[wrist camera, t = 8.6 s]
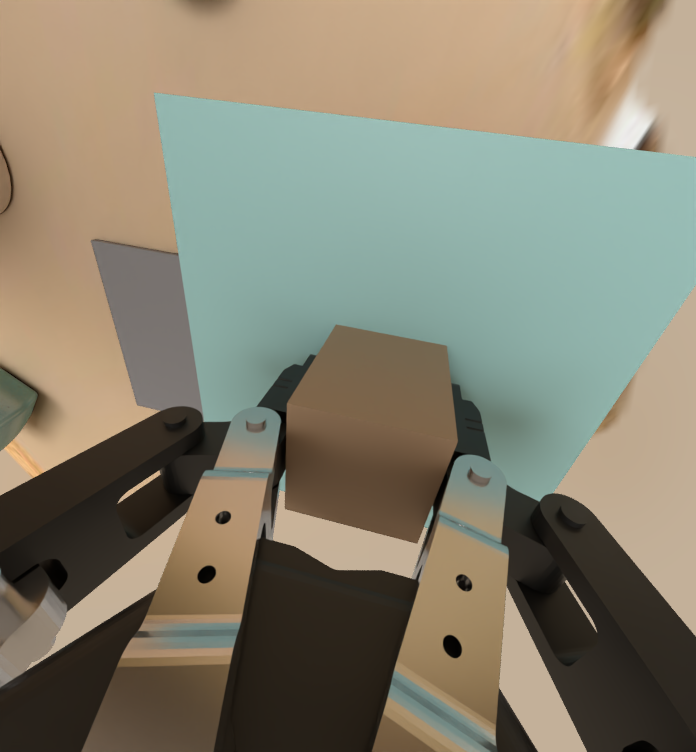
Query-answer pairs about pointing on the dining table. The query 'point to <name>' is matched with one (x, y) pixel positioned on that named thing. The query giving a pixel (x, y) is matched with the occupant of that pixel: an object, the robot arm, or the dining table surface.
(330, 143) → the lid
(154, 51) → the dining table surface
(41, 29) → the dining table surface
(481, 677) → the robot arm
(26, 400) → the flower pot
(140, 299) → the mat
